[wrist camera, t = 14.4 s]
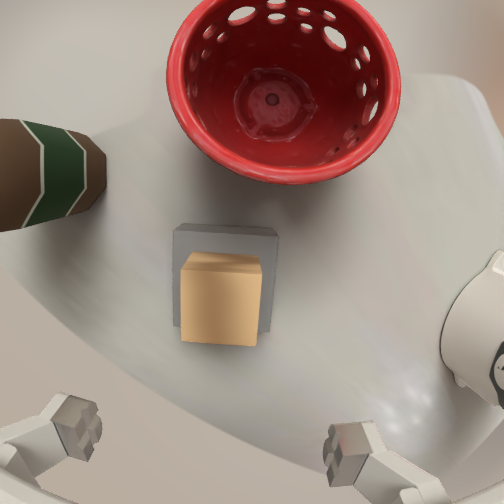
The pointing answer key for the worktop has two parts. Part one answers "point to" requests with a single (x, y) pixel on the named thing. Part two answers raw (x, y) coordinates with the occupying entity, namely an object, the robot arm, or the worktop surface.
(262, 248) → the block
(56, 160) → the beer bottle
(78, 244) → the worktop surface
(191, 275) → the oak cube
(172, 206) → the worktop surface
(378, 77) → the plant pot
